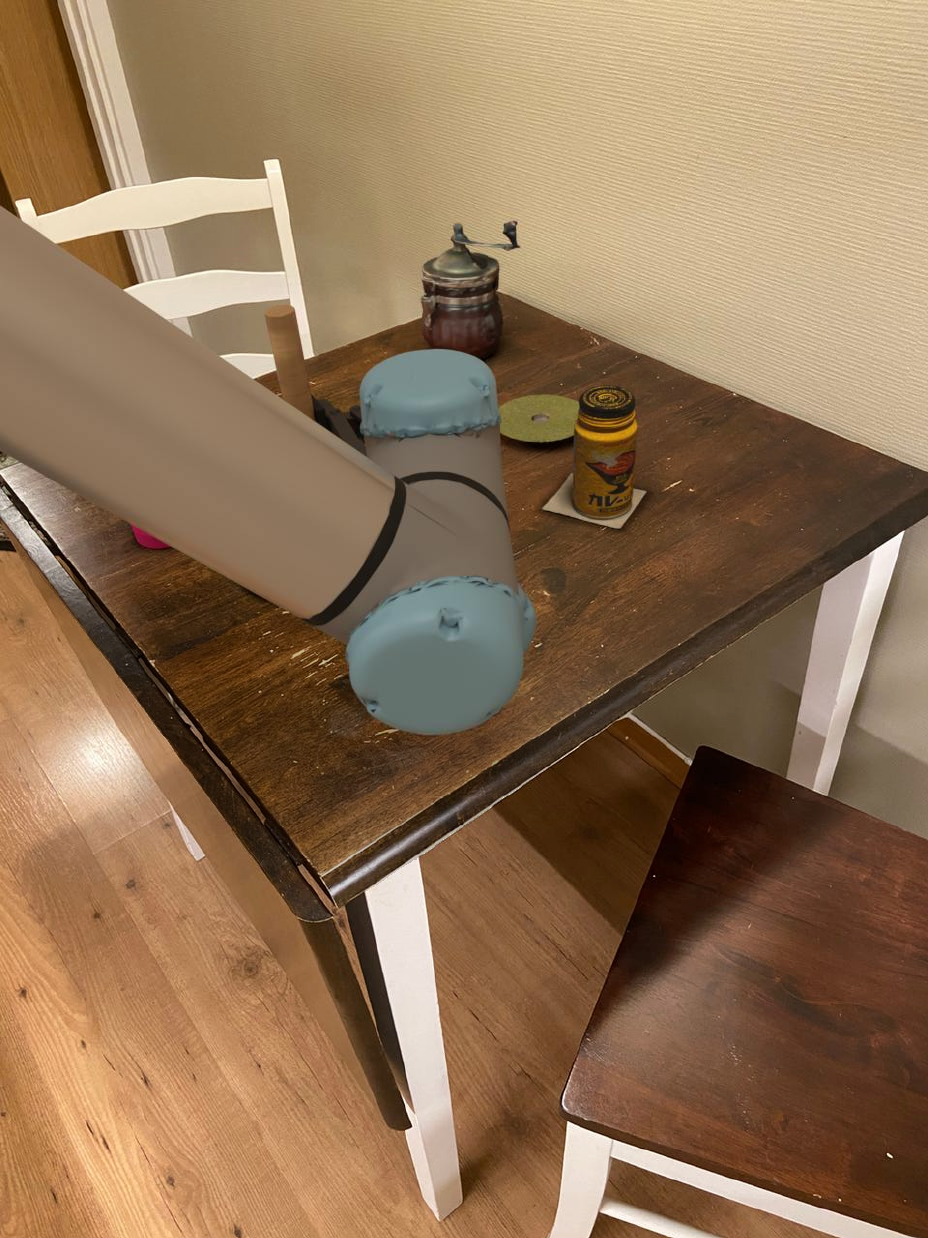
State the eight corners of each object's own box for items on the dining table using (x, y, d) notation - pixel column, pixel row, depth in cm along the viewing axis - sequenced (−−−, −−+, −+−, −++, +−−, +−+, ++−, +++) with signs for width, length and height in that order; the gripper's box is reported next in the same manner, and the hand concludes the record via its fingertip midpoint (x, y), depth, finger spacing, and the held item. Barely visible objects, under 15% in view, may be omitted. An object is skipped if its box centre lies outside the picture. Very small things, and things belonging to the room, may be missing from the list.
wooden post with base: (291, 557, 82) (236, 325, 67) (301, 522, 86) (252, 298, 72) (350, 555, 81) (308, 322, 67) (358, 521, 85) (320, 294, 71)
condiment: (620, 530, 86) (627, 419, 78) (541, 510, 90) (541, 402, 82) (646, 493, 91) (656, 385, 83) (571, 475, 94) (573, 370, 86)
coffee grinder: (501, 383, 112) (496, 236, 100) (405, 363, 118) (389, 222, 107) (547, 345, 120) (547, 204, 108) (455, 328, 126) (445, 193, 115)
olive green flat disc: (596, 411, 105) (596, 396, 103) (582, 460, 97) (583, 444, 95) (503, 406, 107) (503, 391, 106) (482, 452, 99) (482, 437, 98)
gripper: (295, 601, 63) (209, 460, 80) (483, 533, 68) (365, 414, 84) (274, 514, 58) (186, 383, 75) (478, 448, 63) (354, 339, 80)
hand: (282, 400), depth 80 cm, fingers closed on wooden post with base, 2 cm apart
